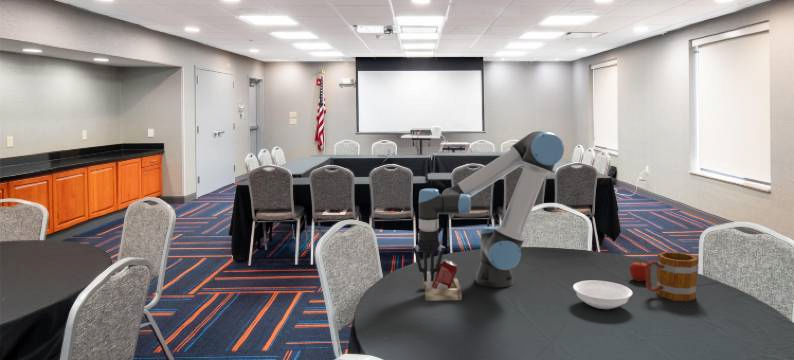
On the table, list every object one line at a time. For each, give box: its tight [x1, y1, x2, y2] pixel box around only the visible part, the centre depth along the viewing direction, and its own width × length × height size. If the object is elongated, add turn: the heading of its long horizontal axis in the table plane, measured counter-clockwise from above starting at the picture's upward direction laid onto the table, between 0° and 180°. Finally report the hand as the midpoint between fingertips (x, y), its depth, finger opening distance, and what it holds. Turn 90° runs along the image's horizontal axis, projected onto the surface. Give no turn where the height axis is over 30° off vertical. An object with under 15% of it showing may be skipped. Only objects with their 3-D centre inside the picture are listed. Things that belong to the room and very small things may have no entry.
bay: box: [422, 277, 463, 302], centre depth 197 cm, size 14×14×4 cm
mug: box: [645, 251, 699, 302], centre depth 192 cm, size 20×14×15 cm
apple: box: [629, 261, 652, 282], centre depth 210 cm, size 8×8×8 cm
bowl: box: [572, 279, 633, 310], centre depth 183 cm, size 20×20×6 cm
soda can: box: [431, 259, 458, 289], centre depth 196 cm, size 7×7×12 cm
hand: (428, 289), depth 197 cm, fingers closed
